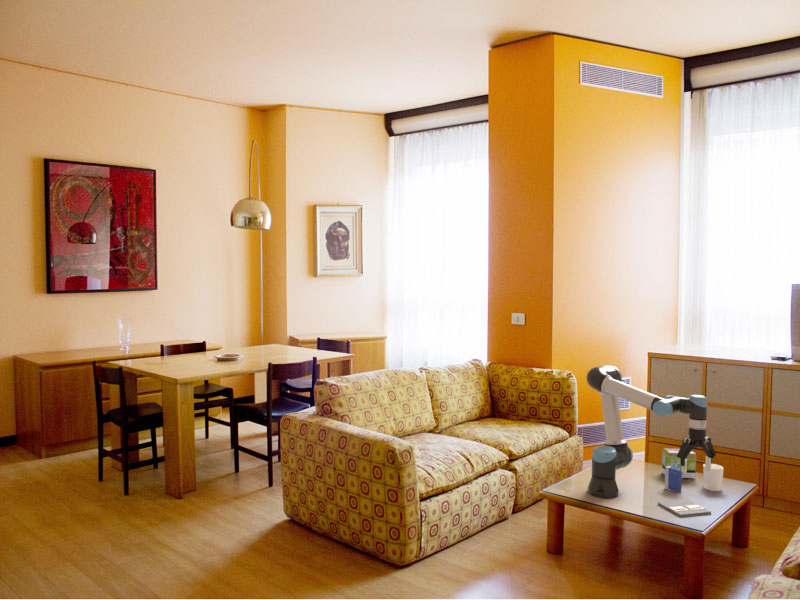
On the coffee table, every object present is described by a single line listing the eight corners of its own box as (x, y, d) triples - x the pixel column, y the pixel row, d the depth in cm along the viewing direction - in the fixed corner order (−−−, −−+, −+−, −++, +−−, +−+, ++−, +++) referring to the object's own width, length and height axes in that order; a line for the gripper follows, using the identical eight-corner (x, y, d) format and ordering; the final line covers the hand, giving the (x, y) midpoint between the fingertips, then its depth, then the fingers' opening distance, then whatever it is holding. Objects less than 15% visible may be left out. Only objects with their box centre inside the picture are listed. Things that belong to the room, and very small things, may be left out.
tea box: (669, 479, 338) (670, 452, 337) (661, 473, 348) (662, 447, 347) (696, 479, 338) (696, 453, 337) (687, 473, 348) (688, 448, 347)
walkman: (681, 491, 317) (682, 469, 317) (678, 492, 316) (678, 470, 315) (667, 487, 324) (668, 465, 323) (664, 488, 322) (665, 465, 322)
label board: (680, 517, 283) (680, 513, 283) (657, 504, 298) (657, 501, 298) (710, 514, 287) (711, 510, 287) (687, 501, 303) (687, 498, 303)
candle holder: (725, 488, 323) (726, 466, 323) (719, 493, 316) (720, 470, 316) (706, 484, 330) (706, 462, 330) (699, 488, 323) (700, 466, 323)
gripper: (680, 430, 284) (679, 475, 285) (725, 428, 290) (723, 472, 291) (669, 427, 291) (668, 470, 292) (713, 424, 297) (712, 467, 298)
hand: (695, 471), depth 291 cm, fingers open, 13 cm apart
